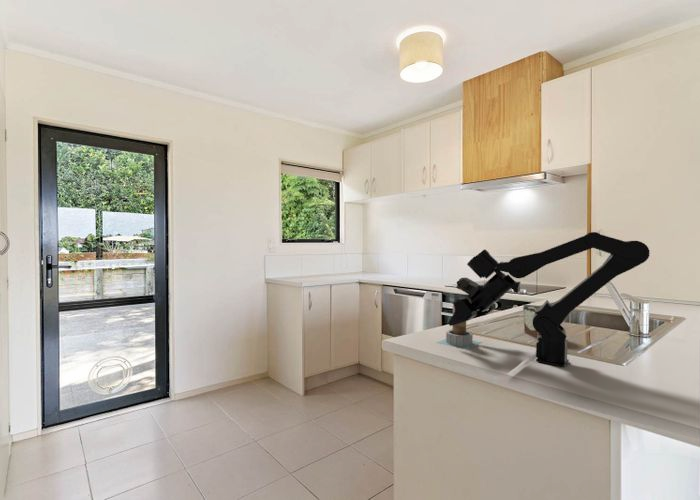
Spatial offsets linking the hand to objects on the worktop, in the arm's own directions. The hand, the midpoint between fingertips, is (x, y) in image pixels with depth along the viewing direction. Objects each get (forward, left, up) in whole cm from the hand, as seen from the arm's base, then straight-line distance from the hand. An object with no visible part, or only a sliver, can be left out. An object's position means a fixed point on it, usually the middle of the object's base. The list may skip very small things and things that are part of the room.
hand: (456, 322), depth 111 cm
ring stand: (-1, 0, -7) cm, 7 cm away
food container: (-16, -30, -7) cm, 35 cm away
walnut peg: (-1, 0, -6) cm, 6 cm away
